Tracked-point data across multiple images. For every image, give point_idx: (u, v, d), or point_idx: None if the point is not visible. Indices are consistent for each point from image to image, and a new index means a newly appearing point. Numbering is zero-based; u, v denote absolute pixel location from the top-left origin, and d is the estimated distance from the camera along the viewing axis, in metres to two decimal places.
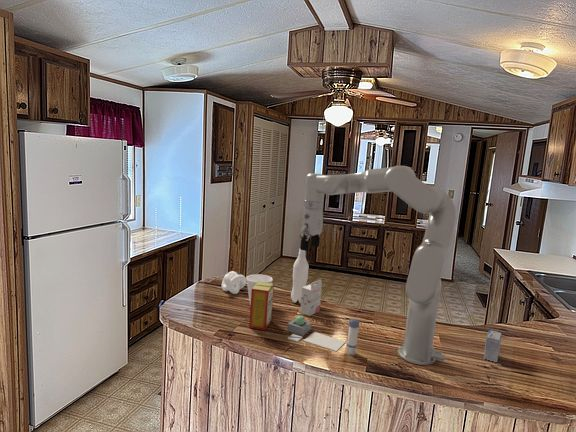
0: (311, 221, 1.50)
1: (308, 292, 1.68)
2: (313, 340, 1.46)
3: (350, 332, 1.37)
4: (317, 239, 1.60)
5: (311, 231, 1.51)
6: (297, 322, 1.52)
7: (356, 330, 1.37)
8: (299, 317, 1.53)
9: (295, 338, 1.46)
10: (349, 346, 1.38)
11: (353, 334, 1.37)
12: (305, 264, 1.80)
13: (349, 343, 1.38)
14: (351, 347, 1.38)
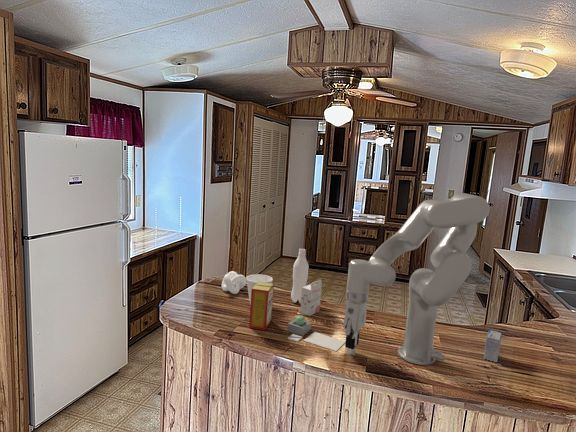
0: (356, 316, 1.32)
1: (308, 292, 1.68)
2: (313, 340, 1.46)
3: None
4: None
5: (355, 328, 1.32)
6: (297, 322, 1.52)
7: None
8: (299, 317, 1.53)
9: (295, 338, 1.46)
10: None
11: None
12: (305, 264, 1.80)
13: None
14: None
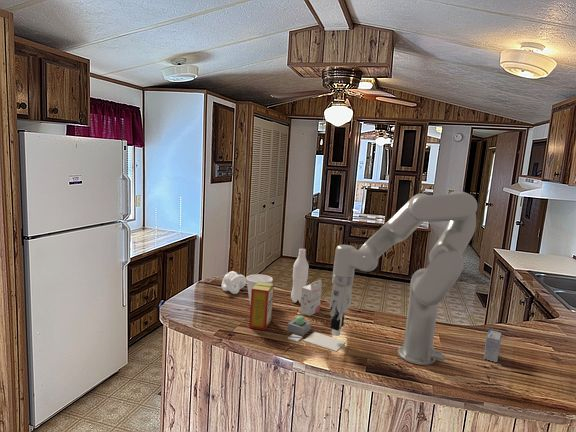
0: (341, 299, 1.39)
1: (308, 292, 1.68)
2: (313, 340, 1.46)
3: None
4: None
5: (340, 309, 1.39)
6: (297, 322, 1.52)
7: None
8: (299, 317, 1.53)
9: (295, 338, 1.46)
10: None
11: None
12: (305, 264, 1.80)
13: None
14: None
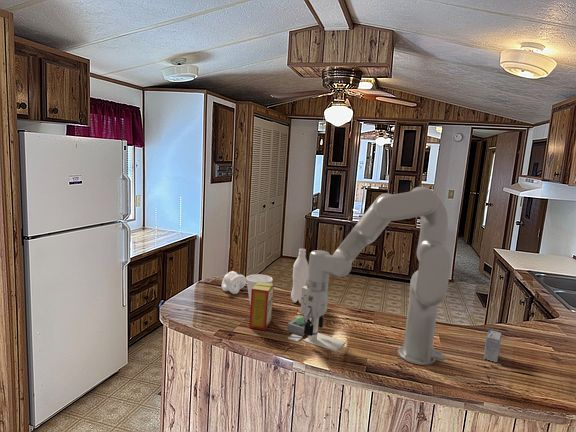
0: (315, 304, 1.39)
1: None
2: None
3: None
4: (320, 320, 1.49)
5: (315, 315, 1.40)
6: (297, 322, 1.52)
7: None
8: (299, 317, 1.53)
9: (295, 338, 1.46)
10: None
11: (314, 321, 1.44)
12: (305, 264, 1.80)
13: None
14: None
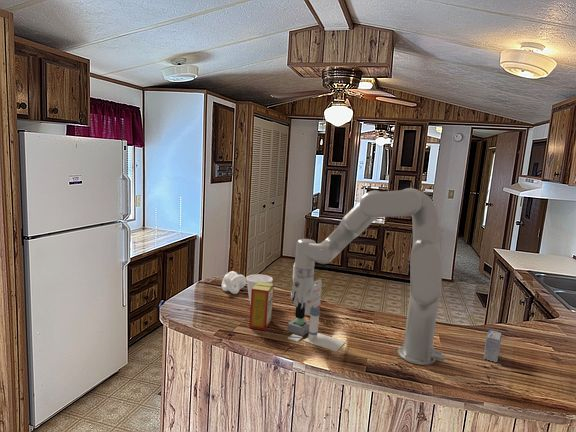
0: (301, 289, 1.47)
1: None
2: None
3: (311, 320, 1.44)
4: None
5: (301, 300, 1.47)
6: (297, 322, 1.52)
7: (317, 318, 1.44)
8: None
9: (295, 338, 1.46)
10: (310, 333, 1.45)
11: (314, 321, 1.44)
12: None
13: (310, 330, 1.45)
14: (312, 334, 1.45)
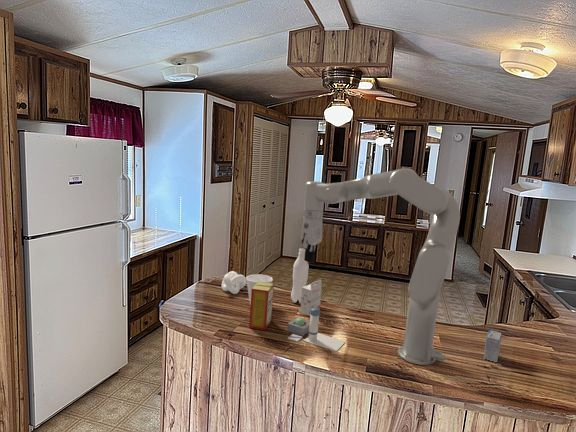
0: (310, 230, 1.46)
1: (308, 292, 1.68)
2: None
3: (311, 320, 1.44)
4: None
5: (310, 241, 1.47)
6: (297, 324, 1.53)
7: (317, 318, 1.44)
8: (299, 319, 1.53)
9: (295, 338, 1.46)
10: (310, 333, 1.45)
11: (314, 321, 1.44)
12: (305, 264, 1.80)
13: (310, 330, 1.45)
14: (312, 334, 1.45)
